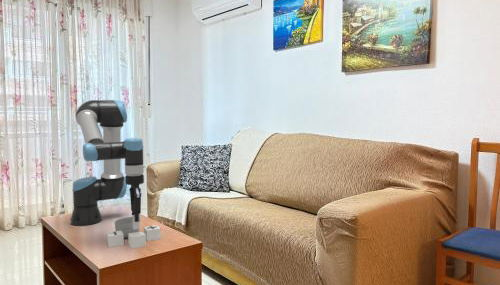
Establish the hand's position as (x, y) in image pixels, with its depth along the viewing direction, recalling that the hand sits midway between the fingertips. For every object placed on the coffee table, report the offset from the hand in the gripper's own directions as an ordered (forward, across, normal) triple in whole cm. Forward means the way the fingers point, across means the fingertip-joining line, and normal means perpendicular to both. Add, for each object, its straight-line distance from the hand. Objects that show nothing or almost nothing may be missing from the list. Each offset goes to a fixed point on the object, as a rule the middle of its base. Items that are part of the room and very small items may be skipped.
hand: (136, 228), depth 160 cm
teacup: (+8, +16, 0) cm, 17 cm away
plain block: (+7, 0, 0) cm, 7 cm away
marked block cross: (+8, +6, -8) cm, 12 cm away
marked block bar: (+8, +6, +8) cm, 12 cm away
